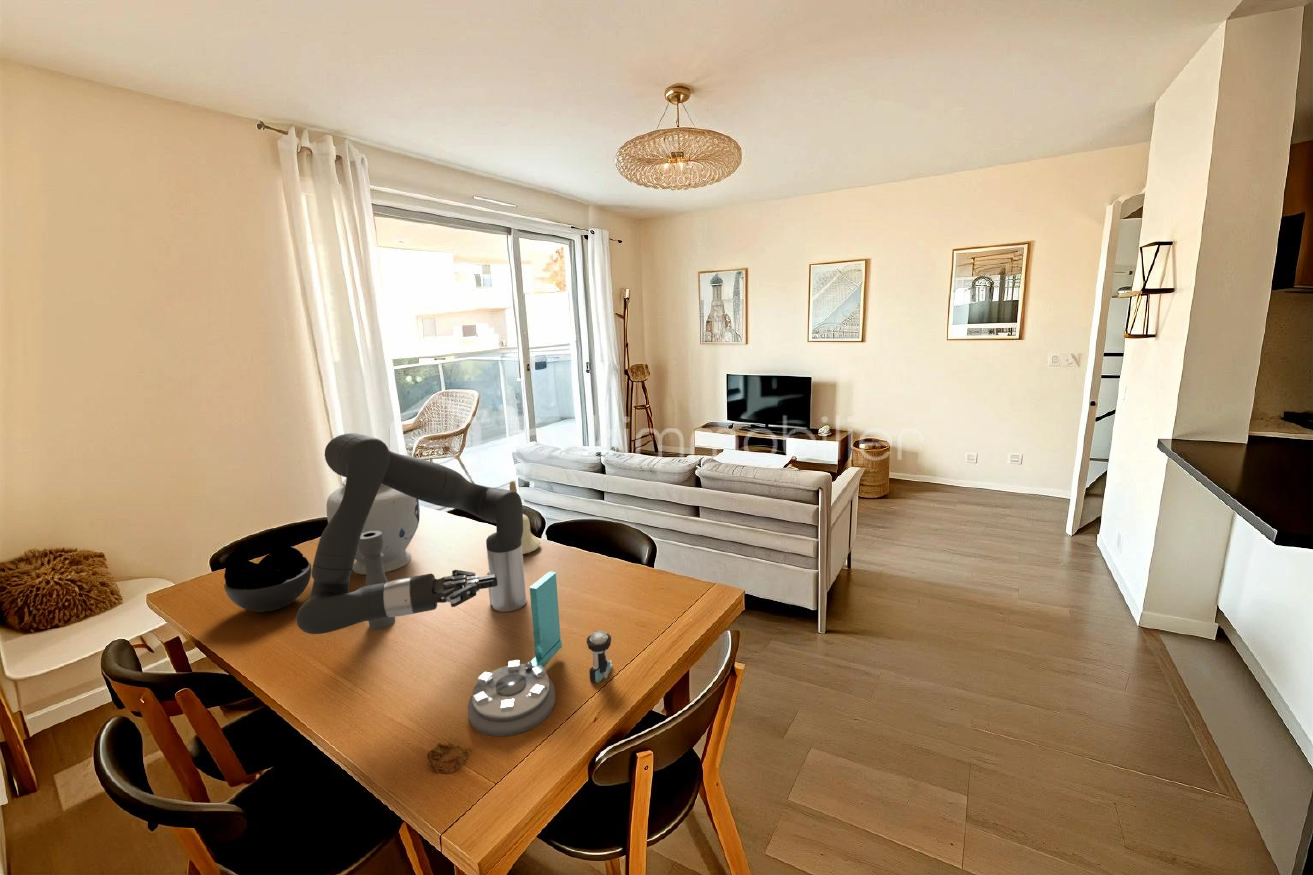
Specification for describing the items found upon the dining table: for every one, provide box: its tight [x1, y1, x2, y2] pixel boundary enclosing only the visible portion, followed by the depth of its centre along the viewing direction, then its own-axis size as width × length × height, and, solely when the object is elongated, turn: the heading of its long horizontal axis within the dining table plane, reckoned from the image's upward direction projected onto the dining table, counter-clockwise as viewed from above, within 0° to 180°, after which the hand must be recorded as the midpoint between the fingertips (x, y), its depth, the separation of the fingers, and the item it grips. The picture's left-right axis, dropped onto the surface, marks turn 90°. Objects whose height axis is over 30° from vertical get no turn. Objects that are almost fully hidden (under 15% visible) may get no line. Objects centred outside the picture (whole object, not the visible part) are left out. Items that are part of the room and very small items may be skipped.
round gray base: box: [467, 678, 556, 737], centre depth 110 cm, size 17×17×2 cm
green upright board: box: [471, 571, 563, 722], centre depth 112 cm, size 26×15×19 cm, turn 159°
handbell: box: [509, 480, 541, 555], centre depth 185 cm, size 15×15×25 cm
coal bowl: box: [223, 538, 312, 613], centre depth 151 cm, size 20×20×19 cm
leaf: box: [426, 741, 471, 775], centre depth 96 cm, size 6×7×2 cm
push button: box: [586, 630, 613, 684], centre depth 118 cm, size 7×5×10 cm
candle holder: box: [358, 531, 396, 631], centre depth 140 cm, size 6×6×25 cm
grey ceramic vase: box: [326, 478, 421, 575], centre depth 176 cm, size 27×27×30 cm
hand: (497, 579), depth 117 cm, fingers closed
